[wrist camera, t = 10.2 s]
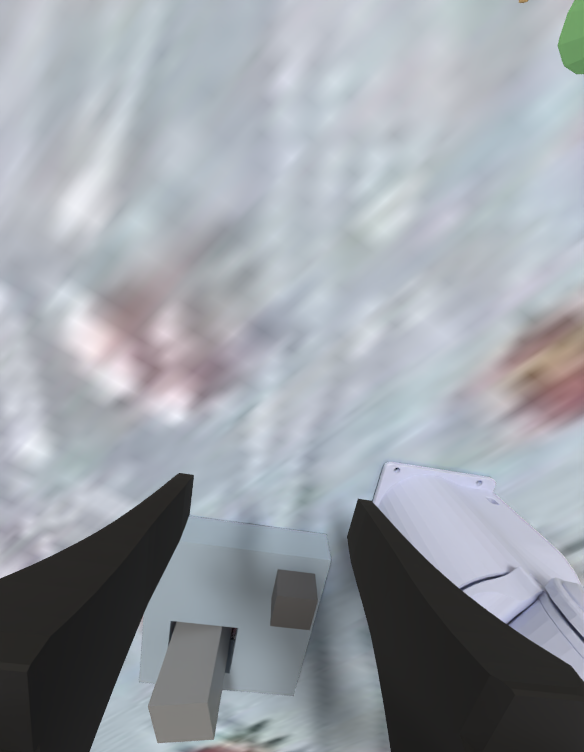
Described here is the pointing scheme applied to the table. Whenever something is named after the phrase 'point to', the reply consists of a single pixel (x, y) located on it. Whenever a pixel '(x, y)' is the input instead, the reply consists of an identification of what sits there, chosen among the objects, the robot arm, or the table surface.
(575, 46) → the toy pieces
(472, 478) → the robot arm
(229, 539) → the socket plate
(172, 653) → the grey rectangular block
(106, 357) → the table surface
